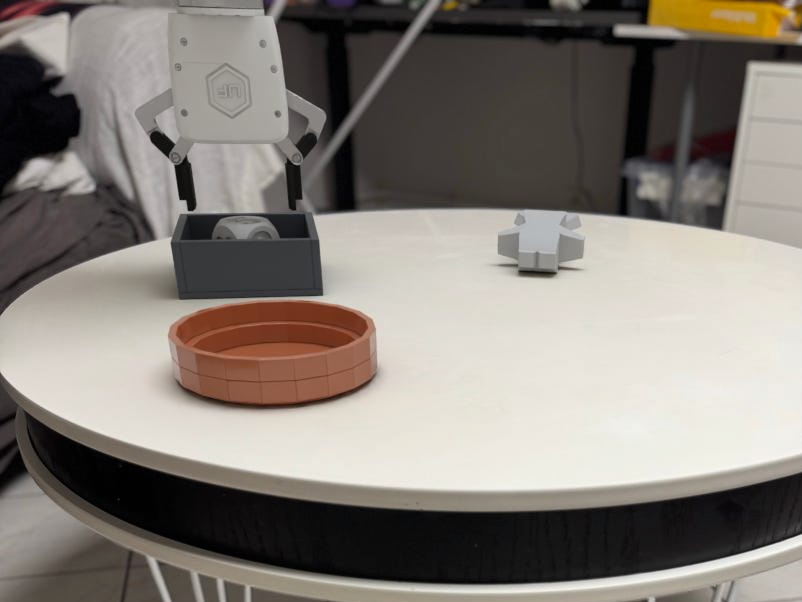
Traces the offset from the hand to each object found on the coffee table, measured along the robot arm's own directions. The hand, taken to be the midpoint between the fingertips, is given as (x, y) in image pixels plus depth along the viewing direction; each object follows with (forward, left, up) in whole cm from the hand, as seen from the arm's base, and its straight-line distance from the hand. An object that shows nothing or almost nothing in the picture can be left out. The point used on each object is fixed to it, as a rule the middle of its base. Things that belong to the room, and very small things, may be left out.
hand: (242, 208), depth 89 cm
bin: (0, 0, -7) cm, 7 cm away
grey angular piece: (+32, +5, -7) cm, 33 cm away
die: (0, 0, -6) cm, 6 cm away
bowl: (+2, -29, -7) cm, 30 cm away
